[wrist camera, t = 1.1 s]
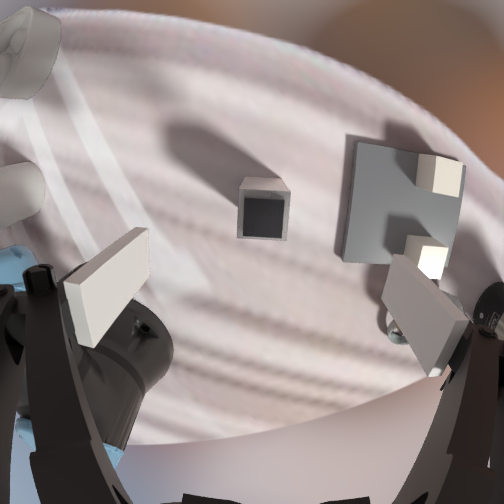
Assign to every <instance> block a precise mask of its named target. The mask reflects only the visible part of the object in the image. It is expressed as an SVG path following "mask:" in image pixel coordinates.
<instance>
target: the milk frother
mask: <svg viewBox="0 0 504 504" xmlns="http://www.w3.org/2000/svg"><path fill="white" fill-rule="evenodd" d="M474 323H475V325H477V324H481V325H485V326H488V327H489V328H491V329H492V330H493V331H495V332H496V334H497V336H498V339H499V340H504V283H503V282H497V283H495V284H493V285H491V286H490V287H489V288H488V289H487V290H486V291H485V292H484V293H483V295H482V296H481V298H480V299H479V301H478V303H477V306H476V308H475V312H474Z"/></svg>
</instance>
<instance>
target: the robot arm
mask: <svg viewBox="0 0 504 504" xmlns="http://www.w3.org/2000/svg"><path fill="white" fill-rule="evenodd" d="M149 276H150V261H149V232H148V228H141V227H135V228H133V229H132V230H131V231H129V232H128V233H126V234H125V235H124V236H122V237H121V238H119V239H118V240H117V241H115V242H114V243H113V244H111V245H110V246H108V247H107V248H106V249H104V250H103V251H102V252H100V253H99V254H98V255H96V256H95V257H94V258H93V259H91V260H90V261H88V262H86V263H84V264H81V265H79V266H78V267H76V268H75V269H74V270H73V271H71V272H70V273H69V274H68V275H66V276H65V277H64V278H62V279H61V280H60V281H59V282H57V283H56V279H55V274H54V268H53V267H52V266H51V265H49V264H38V262H37V260H36V258H35V255H34V254H33V252H32V251H31V250H30V249H29V248H28V247H26V246H23V245H14V246H10V247H7V248H4V249H2V250H0V504H9V503H10V463H11V449H12V439H13V430H14V422H15V415H16V411H17V412H18V414H19V415H20V418H18V419H17V420H16V426H15V429H16V432H17V434H19V437H20V438H21V439H22V440H23V441H24V442H25V443H26V444H27V445H28V446H30V447H31V448H32V449H33V450H35V452H31V453H30V457H29V458H30V466H31V470H32V474H33V478H34V482H35V486H36V489H37V493H38V496H39V499H40V502H41V504H133V502H132V501H131V500H130V497H129V496H128V494H127V493H126V491H125V490H124V488H123V486H122V484H121V482H120V480H119V478H118V476H117V474H116V472H115V469H116V466H117V464H118V462H119V460H120V458H121V456H123V454H124V450H125V447H126V444H127V441H128V439H129V436H130V433H131V430H132V427H133V425H134V422H135V419H136V416H137V414H138V411H139V408H140V406H141V403H142V400H143V398H144V396H145V394H146V393H147V392H148V391H149V390H150V389H151V388H152V387H153V386H154V385H155V384H156V383H157V382H158V381H159V380H160V379H161V378H162V377H163V376H164V375H165V374H166V372H167V371H168V369H169V366H170V364H171V361H172V358H173V352H174V349H173V343H172V339H171V337H170V334H169V332H168V330H167V329H166V327H165V326H164V324H163V323H162V322H161V321H160V320H159V318H158V317H157V316H155V315H154V314H153V313H152V312H151V311H150V310H148V309H147V308H145V307H144V306H142V305H141V304H139V303H137V302H135V301H132V300H131V299H132V298H133V296H134V295H135V294H136V293H137V291H138V290H139V289H140V288H141V286H142V285H143V284H144V283H145V281H146V280H147V279H148V278H149ZM381 300H382V301H383V303H384V304H385V306H386V307H387V309H388V311H389V312H390V314H391V315H392V317H393V318H394V320H395V322H396V323H397V325H398V327H399V328H400V330H401V331H402V333H403V335H404V336H405V338H406V340H407V341H408V343H409V345H410V347H411V348H412V350H413V352H414V353H415V355H416V357H417V359H418V360H419V362H420V364H421V366H422V367H423V369H424V371H425V373H426V375H427V376H428V377H432V376H441V375H442V374H443V372H444V370H445V368H446V367H447V365H448V364H449V366H450V368H451V369H452V370H451V372H450V374H449V375H448V377H447V379H446V380H445V382H444V384H443V385H442V387H441V389H440V390H441V391H442V390H443V389H444V390H443V394H442V396H441V399H440V403H439V405H438V409H437V411H436V414H435V416H434V419H433V422H432V425H431V427H430V429H429V432H428V435H427V437H426V439H425V441H424V444H423V446H422V449H421V451H420V453H419V455H418V457H417V459H416V461H415V463H414V465H413V468H412V470H411V471H410V474H409V475H408V477H407V479H406V481H405V483H404V485H403V487H402V488H401V490H400V492H399V494H398V495H397V497H396V499H395V500H394V502H393V503H392V504H504V340H499V339H498V336H497V334H496V332H495V331H493V330H492V329H491V328H489V327H488V326H485V325H481V324H477V325H474V324H473V323H472V322H471V321H470V320H469V318H468V317H467V316H466V315H465V314H464V313H463V312H462V311H461V310H460V309H459V308H458V307H457V306H456V304H455V303H454V302H453V301H451V300H450V299H449V298H448V297H447V296H446V295H445V294H444V293H443V292H442V291H441V290H440V289H439V288H438V287H437V286H436V285H435V284H434V283H433V282H432V281H431V280H430V279H429V278H428V277H427V276H426V275H425V274H424V273H423V272H422V271H421V270H420V269H419V268H418V267H417V266H416V265H415V264H414V263H413V262H412V261H411V260H410V259H408V258H407V257H406V256H405V255H399V254H393V257H392V261H391V265H390V268H389V272H388V276H387V279H386V283H385V286H384V289H383V293H382V296H381ZM489 456H490V468H488V467H487V465H488V460H489ZM162 504H241V503H237V502H234V501H231V500H223V499H214V498H207V497H201V496H195V495H190V494H183V498H182V502H172V503H162ZM321 504H370V499H369V496H368V497H362V498H355V499H347V500H339V501H328V502H324V503H321Z"/></svg>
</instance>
